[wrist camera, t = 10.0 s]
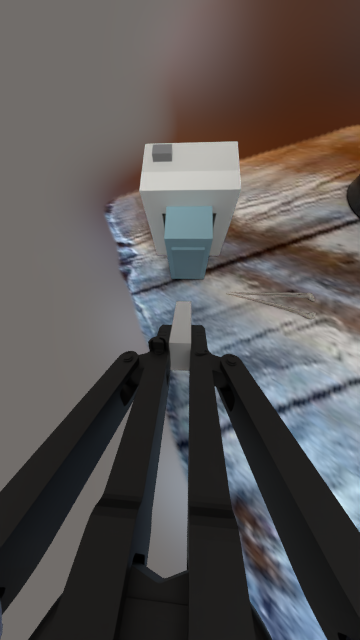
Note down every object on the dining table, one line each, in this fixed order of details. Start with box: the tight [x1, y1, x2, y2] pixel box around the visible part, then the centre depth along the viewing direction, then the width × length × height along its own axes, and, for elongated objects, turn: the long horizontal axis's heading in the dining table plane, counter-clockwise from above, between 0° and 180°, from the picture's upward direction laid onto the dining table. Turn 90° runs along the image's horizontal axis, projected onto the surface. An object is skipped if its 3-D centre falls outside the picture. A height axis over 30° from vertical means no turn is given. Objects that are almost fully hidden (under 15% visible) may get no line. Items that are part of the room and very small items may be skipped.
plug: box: [164, 206, 213, 279], centre depth 24 cm, size 6×8×10 cm
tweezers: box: [228, 292, 315, 319], centre depth 27 cm, size 18×5×2 cm, turn 79°
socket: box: [140, 142, 241, 256], centre depth 24 cm, size 12×8×13 cm, turn 88°
